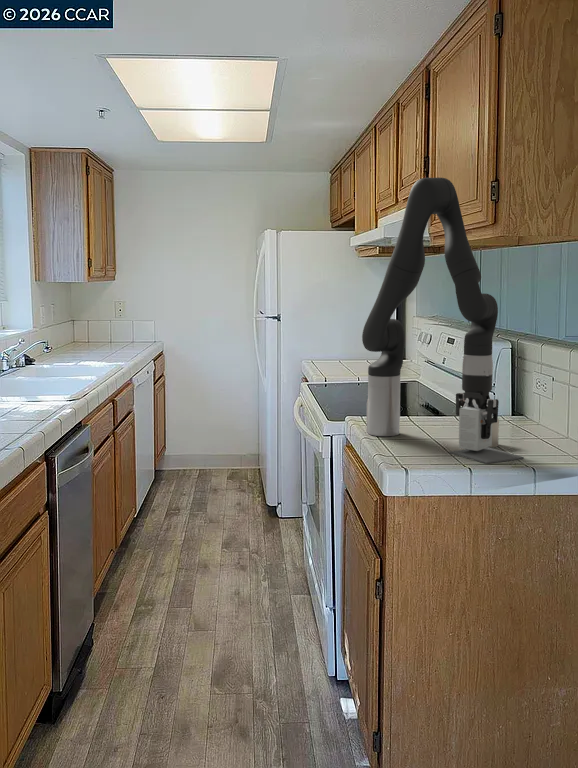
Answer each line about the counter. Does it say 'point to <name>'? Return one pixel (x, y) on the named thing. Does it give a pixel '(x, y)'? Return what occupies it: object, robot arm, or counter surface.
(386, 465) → the counter surface
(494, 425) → the beige rounded block
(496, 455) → the mat
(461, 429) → the small box
